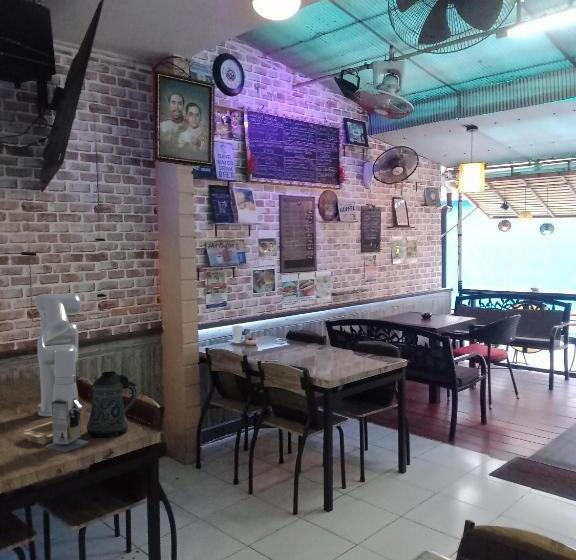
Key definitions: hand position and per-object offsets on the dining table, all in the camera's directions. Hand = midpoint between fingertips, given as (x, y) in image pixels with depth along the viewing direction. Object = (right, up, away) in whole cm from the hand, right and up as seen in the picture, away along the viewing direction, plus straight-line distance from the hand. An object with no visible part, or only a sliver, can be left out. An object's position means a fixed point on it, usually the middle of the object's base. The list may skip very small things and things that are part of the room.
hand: (66, 425), depth 216 cm
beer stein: (+12, -7, +17) cm, 22 cm away
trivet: (0, -8, 0) cm, 8 cm away
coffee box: (0, -6, 0) cm, 6 cm away
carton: (-10, -8, +10) cm, 16 cm away
